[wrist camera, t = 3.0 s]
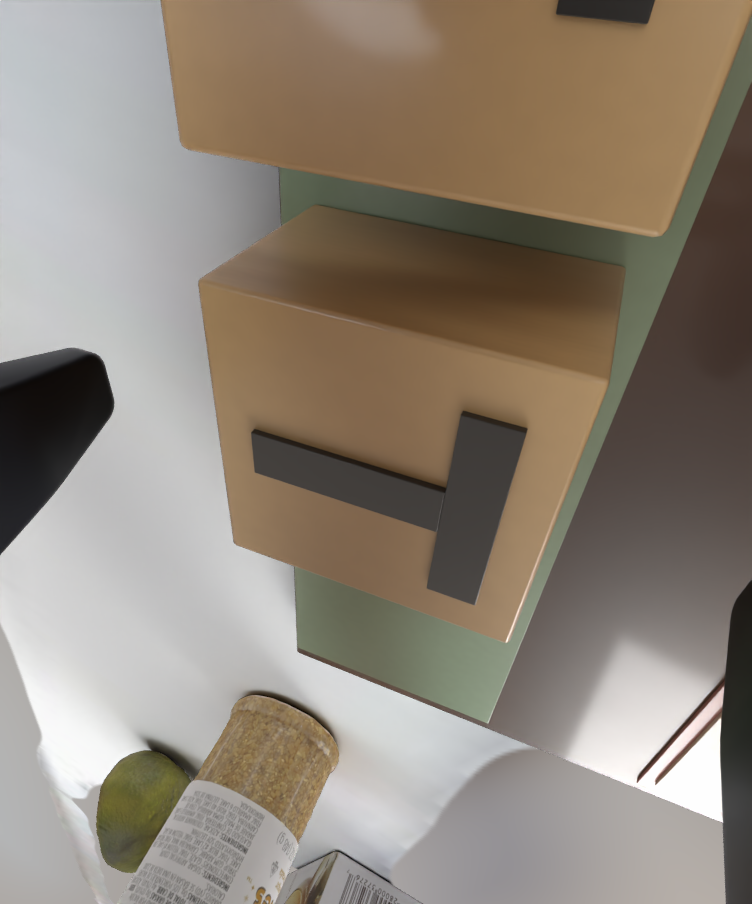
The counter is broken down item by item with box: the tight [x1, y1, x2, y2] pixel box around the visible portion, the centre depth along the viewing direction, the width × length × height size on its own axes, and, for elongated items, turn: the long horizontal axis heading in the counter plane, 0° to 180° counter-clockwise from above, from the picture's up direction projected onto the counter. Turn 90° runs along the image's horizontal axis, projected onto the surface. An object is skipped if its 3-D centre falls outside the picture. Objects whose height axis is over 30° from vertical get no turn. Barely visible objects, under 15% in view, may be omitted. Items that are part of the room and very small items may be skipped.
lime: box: [96, 750, 191, 873], centre depth 29 cm, size 4×5×5 cm
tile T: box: [198, 205, 626, 643], centre depth 9 cm, size 4×4×3 cm
